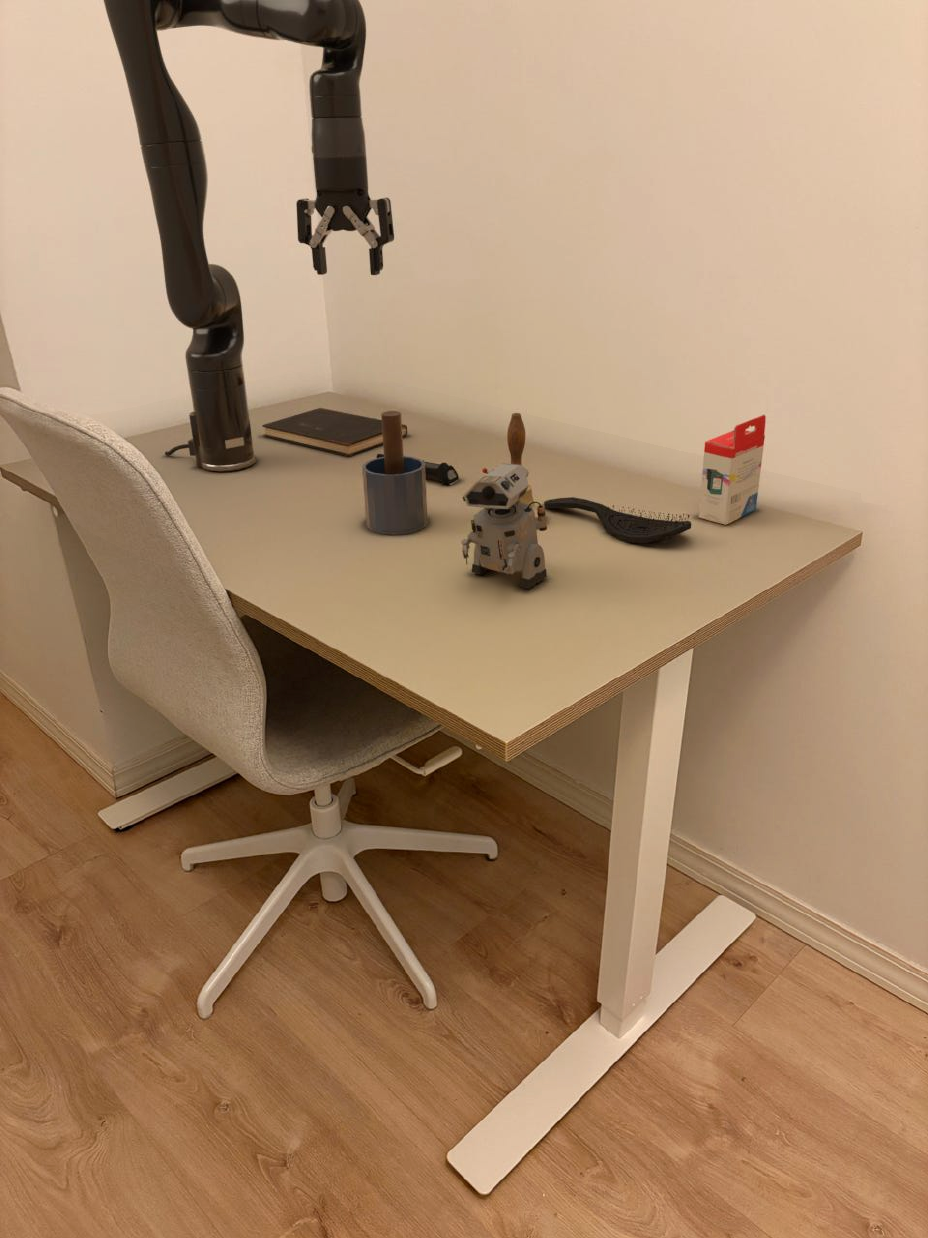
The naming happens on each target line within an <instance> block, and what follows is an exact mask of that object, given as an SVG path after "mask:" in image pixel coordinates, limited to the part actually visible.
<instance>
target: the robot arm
mask: <svg viewBox="0 0 928 1238" xmlns="http://www.w3.org/2000/svg"><path fill="white" fill-rule="evenodd" d="M103 3H104V8H105V12H106V15H107V19H108V22H109V26H110V30H111V33H112V36H113V39H114V42H115V46H116V49H117V52H118V55H119V59H120V61H121V64H122V65H121V66H122V69H123V72H124V75H125V76H124V77H125V80H126V84H127V88H128V93H129V98H130V103H131V106H132V110H133V115H134V118H135V123H136V128H137V129H136V130H137V135H138V140H139V145H140V150H141V155H142V160H143V164H144V169H145V173H146V177H147V182H148V185H149V190H150V196H151V199H152V206H153V211H154V216H155V221H156V225H157V229H158V235H159V240H160V248H161V255H162V257H161V258H162V265H163V266H162V267H163V274H164V284H165V293H166V297H167V301H168V305H169V308H170V310H171V312H172V314H173V315H174V317H175V318H176V319H177V321H179V322H180V324H182V325H183V326H184V327H187V328H189V329H192V337H191V340H190V343H189V345H188V347H187V349H186V350H185V354H184V355H185V357H184V358H185V364H186V365H185V366H186V369H187V370H186V371H187V377H188V384H189V389H190V396H191V397H190V398H191V403H192V410H193V411H192V412H190V413H189V417H188V418H189V424H190V430H191V437H192V438H191V439H190V440H188V441H187V443H184V444H179V445H176V446H174V447H172V448H171V449H170V450H168V451H167V450H166V451H165V452H164V455H165V456H166V457H167V456H172V455H173V454H174V453H176V452H177V451H180V450H183V449H188V451H189V456H191V457H195V462H196V467H197V468H202V469H204V470H206V471H211V472H233V471H239V470H244V469H247V468H249V467H251V466H253V465H254V464H255V463H256V455H255V450H254V442H253V435H252V427H251V425H252V424H251V419H250V410H249V402H248V396H247V388H246V386H247V385H246V379H245V371H244V364H243V350H244V346H245V332H244V321H243V320H244V319H243V310H242V309H243V308H242V307H243V306H242V300H241V294H240V293H241V292H240V289H239V286H238V284H237V281H236V279H235V278H234V276H233V274H231V272H230V271H229V270H228V269H226V268H225V267H224V266H222V265H219V264H216V263H209V259H208V255H207V251H206V245H205V238H204V237H205V236H204V219H205V212H206V204H207V197H208V183H209V177H208V175H209V174H208V167H207V160H206V155H205V154H206V153H205V150H204V144H203V139H202V134H201V130H200V127H199V124H198V122H197V119H196V117H195V116H194V113H193V112H192V110H191V108H190V107H189V105H188V103H187V101H186V100H185V98H184V97H183V95H182V94H181V92H180V90H179V89H178V87H177V85H176V84H175V82H174V81H173V79H172V77H171V75H170V73H169V70H168V68H167V66H166V62H165V59H164V57H163V53H162V49H161V44H160V40H159V35H158V32H159V31H161V32H162V31H163V32H164V31H167V30H173V29H181V28H189V27H213V28H218V29H222V30H225V31H228V32H231V33H234V34H238V35H242V36H247V37H252V38H257V39H263V40H264V39H266V40H271V41H287V42H291V43H295V44H299V45H302V46H303V45H304V46H309V47H315V48H322V59H321V66H320V69H317V70H315V71H313V72H312V73H311V75H310V78H309V79H308V81H309V82H308V83H309V84H308V90H309V91H308V93H309V103H310V114H311V118H312V119H311V153H312V160H313V172H314V183H315V184H314V185H315V191H316V198H315V199H309V198H308V197H307V198H301V199H297V201H296V204H295V206H296V225H297V226H296V227H297V241H298V242H299V243H300V244H304V245H307V246H309V247H310V249H311V256H312V257H311V258H312V268H313V270H314V271H316V274H317V275H320V276H323V275H326V274H327V273H328V267H327V253H326V247H325V246H324V244H325V242H326V240H327V239H328V236H329V235H330V234H331V233H332V232H340V231H347V232H355V231H357V233H358V234H359V235H360V236H361V237H363V238H364V239H365V241H366V242H367V244H368V245H369V247H370V248H368V253H369V254H368V255H369V269H370V270H369V272H370V275H371V276H379V275H380V274H381V271H382V270H383V269H384V257H383V256H384V255H383V254H384V253H383V247H384V246H385V245H386V244H389V243H392V242H394V240H395V231H394V222H393V212H392V201H391V199H390V198H389V197H383V198H379V199H371V197H370V194H369V177H368V161H367V159H368V158H367V145H366V133H365V128H364V122H363V118H362V116H363V113H362V111H363V110H362V98H361V95H362V94H361V86H360V85H361V78H362V71H363V66H364V60H365V59H364V57H365V51H366V50H365V49H366V42H367V21H366V16H365V12H364V9H363V6H362V4H361V2H360V0H103ZM372 209H373V211H374V214H375V215H376V216H377V217H378V225H379V226H378V227H379V232H377V230H376V227H375V225H374V224H373V223H372V221H371V220H370V219H369V217H368V216H369V214H370V212H371V211H372ZM315 210H316V212H317V213H318V215H319V216H320V217H321V219H320V221H319V222H318V223H317V225H316V227H315V229H314V233H313V225H312V223H313V222H312V216H313V215H314V213H315Z"/></svg>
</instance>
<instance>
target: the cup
mask: <svg viewBox="0 0 928 1238" xmlns="http://www.w3.org/2000/svg"><path fill="white" fill-rule="evenodd" d="M425 462H426V461H424V462H423V459H420V458H417V457H414V456H408V455H404V473H402V474H385V464H384V457H381V458H373V459H370V460H367V461H366V462H364V463H363V465H362V467H361V469H362V482H363V494H364V507H365V508H364V510H365V523H366V527H367V528H368V530H370V531H371V532H373V533H376V534H380V535H388V536H399V535H400V536H401V535H408V534H412V533H416V532H419V531H421V530H423V529H424V528H426V526H427V525H428V501H427V500H428V499H427V478H426V475H425Z"/></svg>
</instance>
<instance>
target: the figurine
mask: <svg viewBox="0 0 928 1238" xmlns="http://www.w3.org/2000/svg"><path fill="white" fill-rule="evenodd" d="M481 470H482V473H483V474H485V475H484V476H482V477H481V478H479V479H478V480H476V482H475V483H473V484H472V486H471V487H470V488H469V489H468V490H467V491H466V492H465V493H464V494H463V496H462V500H463V502H465V504H466V507H472V508H481V510H479V511H478V512H477V513H476V514H474V515H473V516H472V518H473V519H470V525H471V531H470V532H468V534H467V537H466V538H464V539H462V540H461V541H460V543H461V545H462V548H461V552H462V557H463V559H464V560H465V563H466V564H465V565H468V559H469V558H470V556H469V550H470V548H471V547H470V544H471V543H472V544H474V549H473V563H472V565H471V573H474V574H475V575H479V576H481V575H483V574H484V573H486V572H487V570H492V571H495V572H498V573H504V574H506V575H513V574H514V573H516V572H520V571H522V574H521V575H522V577H521V578H520V587H522V588H524V589H526V590H531V589H532V588H535V586H536V584H541V582H544V580H545V578H547V577H548V573H547V569H546V559H545V552H544V549H543V547H542V546H541V544H539V542H538V540H539V539H538V532H537V530H539V531H540V532H544V531H547V530H548V525H547V519H546V518H547V517H546V507H545V505H544V504H541V503H540V502H539V501H534V502H532V503H530V504H529V505H528V504H524V503H520V502H521V501H520V499H521V498H522V497H523V496H524V495H525V494H526V491H527V488H528V484H529V482H528V476H529V474H530V472H529V470H528V469H527V468H526V467H525V466H523V465H522V466H521V465H519V464H511V463H501V464H500V465H498V466H496V467H495V468H493V469H492V470H490V471H488V468H486V467H483V468H482V469H481ZM533 503H534V504H538V505H537V506H536V508H537V515H538V517H535V512H534V510H533V508H532V506H531V504H533Z"/></svg>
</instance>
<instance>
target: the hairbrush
mask: <svg viewBox="0 0 928 1238" xmlns="http://www.w3.org/2000/svg"><path fill="white" fill-rule="evenodd" d="M543 506H544V508H545V509H577V510H581V511H586V512H590V513H593V514H596V517H598V519H599V520H600V521H601V523H602V525H603V526H604V528H605V530H606V531H607V533H609V534H610V535H611V536H612V537H614V538H615V539H617V540H619V541H623V542H627V543H633V544H635V543H636V544H637V543H639V544H647V543H651V542H652V543H653V542H656V541H657V542H658V541H660V540H661V541H663V540H666V539H669V538H671V537H675V536H677V535H680V534H682V533H685V532H686V531H688V530H690V529H692V522H691V521H690V520H689V518H690V516H691V515H690V514H688V513H686V516H687V517H685V513H683V514H682V515H681V514H680V515H678V514H675V515H676V516H674V514H673V513H672V514H671V519H670V513H669V512H667V516H666V515H665V512H663V513H662V512H658V516H656V515H657V514H655V511H650V510H649V511H648V513H649V515H646V514H647V513H646V511H645V510H644V509H643V510H641V512H640V509H638V514H637V515H636V511H635V509H632V510H630V511H629V512H628V513H625V512H626V509H624V508H625V507H624V506H622V509H621V510H620V509H619V510H614V508H615V505H612V508H611V507H610V506H606V505H605V504H603V503H600V502H597V501H592V500H589V499H586V498H580V497H575V496H570V497H558V498H551V499H547V500H545V501H543ZM627 509H630V506H628V508H627ZM633 513H634V514H633ZM643 513H644V516H643V515H642V514H643ZM639 514H640V515H639ZM652 514H654V515H653V516H652ZM661 514H663V518H662V516H661ZM665 516H666V517H665ZM677 517H678V518H679V520H677ZM684 517H685V518H684ZM664 518H665V519H664Z"/></svg>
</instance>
